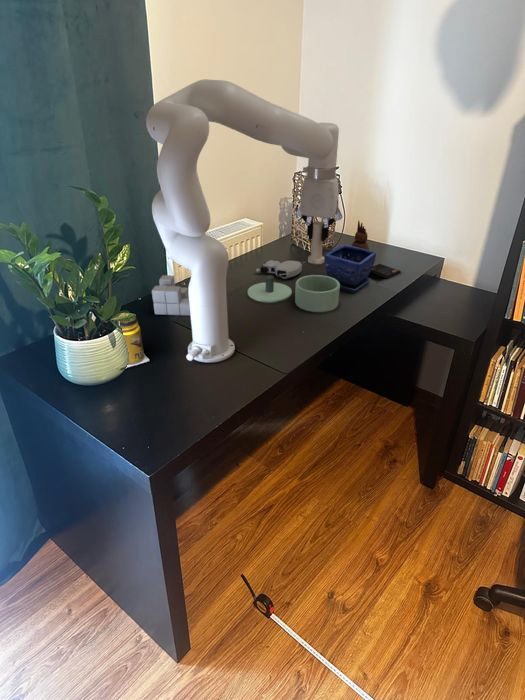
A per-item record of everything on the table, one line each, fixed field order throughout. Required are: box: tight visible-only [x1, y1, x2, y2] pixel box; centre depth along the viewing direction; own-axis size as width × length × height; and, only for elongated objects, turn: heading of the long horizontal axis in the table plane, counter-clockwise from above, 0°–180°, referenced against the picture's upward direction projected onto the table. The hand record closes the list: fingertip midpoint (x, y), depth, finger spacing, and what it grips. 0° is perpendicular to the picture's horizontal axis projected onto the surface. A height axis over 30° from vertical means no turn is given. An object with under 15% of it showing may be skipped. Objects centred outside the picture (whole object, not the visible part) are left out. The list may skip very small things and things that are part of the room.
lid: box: [247, 275, 293, 303], centre depth 162 cm, size 15×15×6 cm
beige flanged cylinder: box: [307, 220, 325, 265], centre depth 144 cm, size 9×5×12 cm, turn 3°
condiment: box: [120, 315, 150, 369], centre depth 127 cm, size 7×8×12 cm
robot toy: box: [255, 259, 306, 280], centre depth 177 cm, size 12×4×15 cm
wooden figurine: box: [351, 220, 370, 261], centre depth 186 cm, size 7×6×15 cm
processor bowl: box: [294, 274, 341, 313], centre depth 156 cm, size 14×14×7 cm
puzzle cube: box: [151, 274, 191, 317], centre depth 154 cm, size 12×12×8 cm
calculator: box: [370, 263, 401, 279], centre depth 178 cm, size 9×12×3 cm
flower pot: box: [324, 244, 377, 294], centre depth 166 cm, size 13×13×12 cm
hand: (317, 238), depth 143 cm, fingers closed on beige flanged cylinder, 3 cm apart
